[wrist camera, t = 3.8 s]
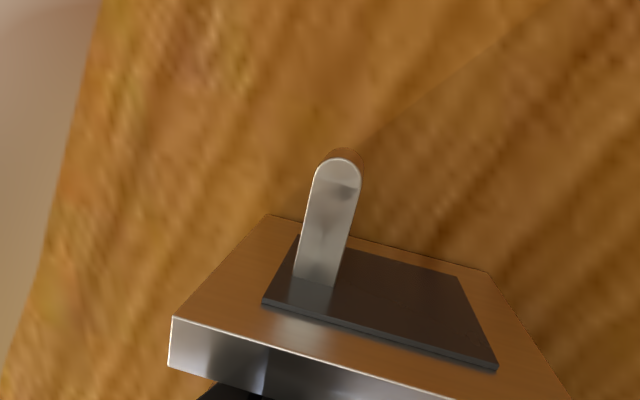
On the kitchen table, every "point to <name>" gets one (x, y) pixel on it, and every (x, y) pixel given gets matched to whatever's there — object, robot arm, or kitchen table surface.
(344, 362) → the door
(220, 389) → the robot arm
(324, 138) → the kitchen table surface
